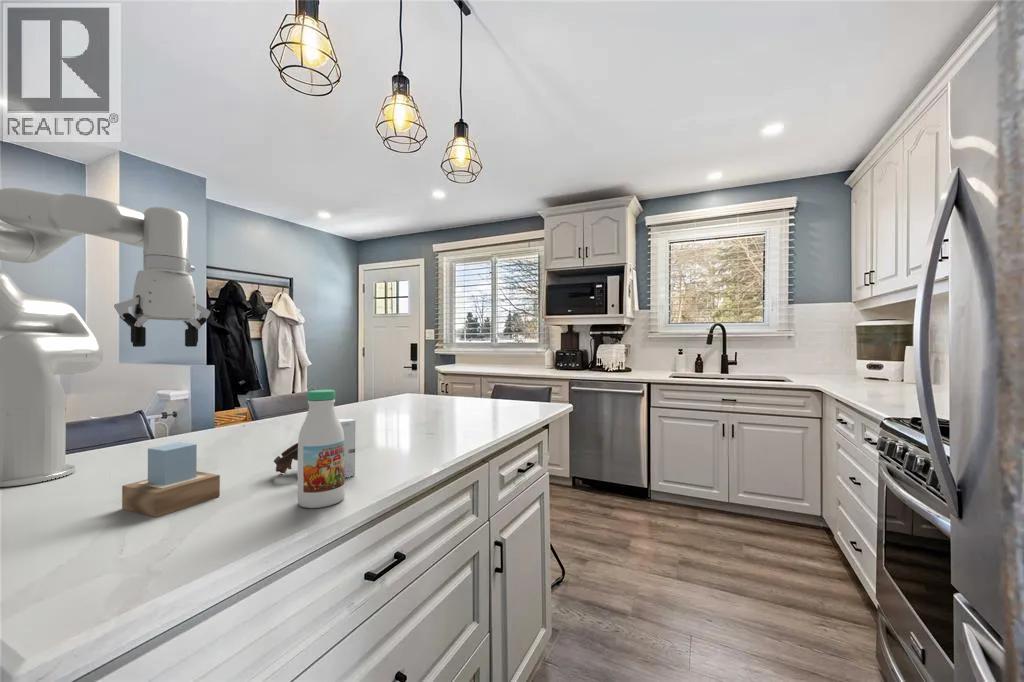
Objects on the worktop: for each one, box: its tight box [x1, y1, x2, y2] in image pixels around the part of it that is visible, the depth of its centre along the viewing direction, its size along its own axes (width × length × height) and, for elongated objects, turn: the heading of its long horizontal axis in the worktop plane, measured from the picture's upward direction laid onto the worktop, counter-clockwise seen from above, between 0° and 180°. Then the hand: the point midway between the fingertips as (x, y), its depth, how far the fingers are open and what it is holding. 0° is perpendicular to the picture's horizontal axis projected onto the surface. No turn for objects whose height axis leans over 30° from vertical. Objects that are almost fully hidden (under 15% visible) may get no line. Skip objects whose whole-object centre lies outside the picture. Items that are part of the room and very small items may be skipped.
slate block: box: [147, 442, 198, 486], centre depth 74 cm, size 5×5×6 cm
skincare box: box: [338, 417, 356, 478], centre depth 88 cm, size 6×4×12 cm
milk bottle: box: [297, 389, 346, 509], centre depth 74 cm, size 8×8×20 cm
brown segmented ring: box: [273, 442, 298, 474], centre depth 92 cm, size 12×10×8 cm
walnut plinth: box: [121, 470, 221, 518], centre depth 74 cm, size 10×10×4 cm
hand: (166, 346), depth 88 cm, fingers open, 9 cm apart
